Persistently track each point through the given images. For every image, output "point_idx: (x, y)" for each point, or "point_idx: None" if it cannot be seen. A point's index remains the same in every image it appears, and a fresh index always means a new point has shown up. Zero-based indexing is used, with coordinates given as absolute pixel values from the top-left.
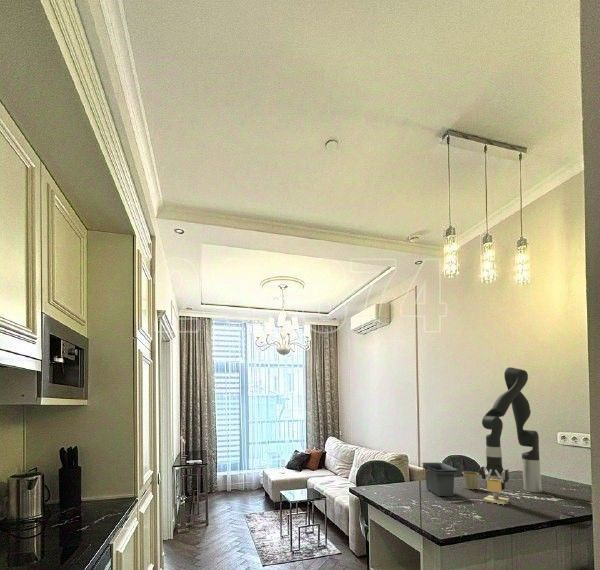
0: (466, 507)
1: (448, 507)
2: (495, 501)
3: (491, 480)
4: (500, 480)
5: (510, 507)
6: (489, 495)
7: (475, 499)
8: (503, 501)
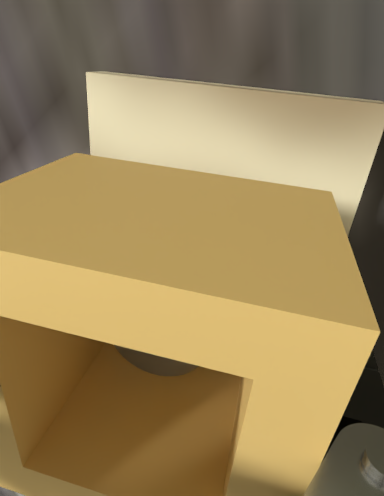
0: None
1: None
2: None
3: (15, 361)
4: (251, 397)
5: (379, 373)
6: (92, 83)
7: None
8: None
